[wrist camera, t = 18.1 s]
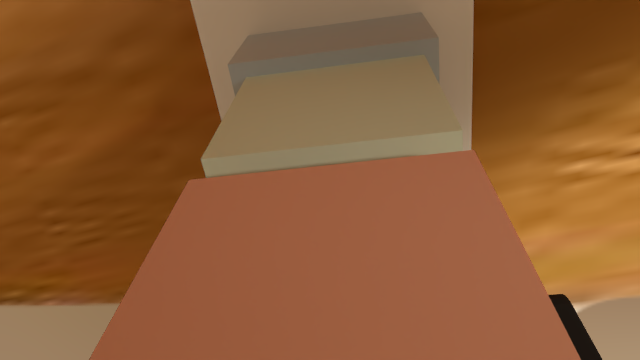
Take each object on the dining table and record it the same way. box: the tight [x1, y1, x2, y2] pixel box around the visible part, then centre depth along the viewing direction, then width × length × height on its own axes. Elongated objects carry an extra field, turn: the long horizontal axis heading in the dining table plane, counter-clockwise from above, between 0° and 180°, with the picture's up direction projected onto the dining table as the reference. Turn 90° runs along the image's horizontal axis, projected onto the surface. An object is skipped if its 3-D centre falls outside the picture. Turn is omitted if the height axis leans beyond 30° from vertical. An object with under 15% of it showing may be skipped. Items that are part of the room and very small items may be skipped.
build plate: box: [190, 0, 474, 151], centre depth 20 cm, size 11×11×5 cm
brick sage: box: [201, 55, 463, 178], centre depth 15 cm, size 6×6×6 cm
